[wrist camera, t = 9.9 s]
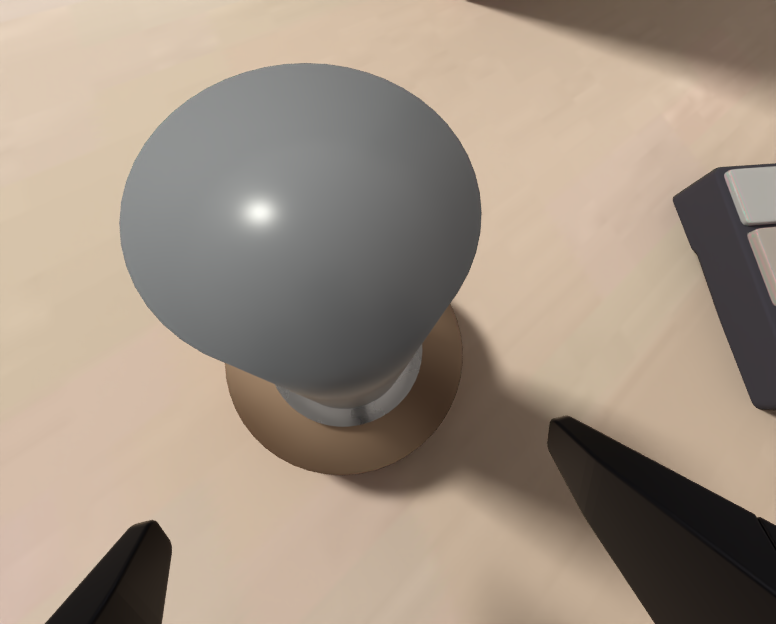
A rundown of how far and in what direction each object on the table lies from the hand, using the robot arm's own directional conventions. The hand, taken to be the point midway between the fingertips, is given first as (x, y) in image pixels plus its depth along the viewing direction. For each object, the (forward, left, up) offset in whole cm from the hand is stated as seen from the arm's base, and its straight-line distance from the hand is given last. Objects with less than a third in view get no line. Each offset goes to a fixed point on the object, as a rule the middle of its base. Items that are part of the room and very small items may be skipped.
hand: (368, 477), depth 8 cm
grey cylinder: (+3, +4, -9) cm, 11 cm away
